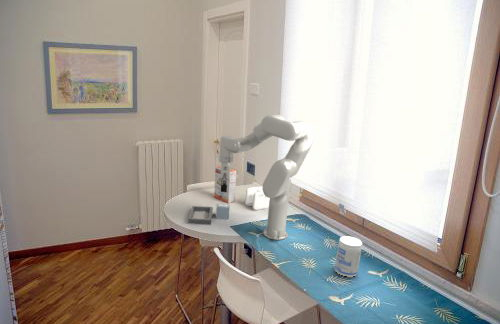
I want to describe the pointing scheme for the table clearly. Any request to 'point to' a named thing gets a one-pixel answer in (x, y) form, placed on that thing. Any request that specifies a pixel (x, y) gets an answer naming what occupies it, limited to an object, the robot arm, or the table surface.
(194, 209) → the grey rectangular frame
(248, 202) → the cable organizer
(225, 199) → the cracker box
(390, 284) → the table surface
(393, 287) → the table surface
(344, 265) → the supplement tub
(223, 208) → the module
